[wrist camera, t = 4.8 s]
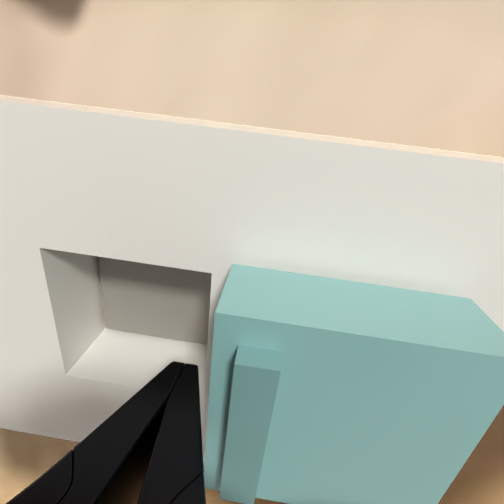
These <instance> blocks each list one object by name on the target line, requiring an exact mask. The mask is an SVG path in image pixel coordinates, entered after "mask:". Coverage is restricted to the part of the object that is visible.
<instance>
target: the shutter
mask: <svg viewBox="0 0 504 504" xmlns="http://www.w3.org/2000/svg"><path fill="white" fill-rule="evenodd" d="M503 405H504V332H503V331H502V330H501V329H500V328H499V327H498V326H497V325H496V324H495V323H494V322H493V321H492V320H491V319H490V318H489V317H488V315H487V314H486V313H485V312H484V311H483V310H482V309H481V308H480V307H479V306H478V305H477V304H476V303H475V302H474V301H473V300H472V299H471V298H464V297H457V296H450V295H443V294H437V293H430V292H423V291H416V290H409V289H402V288H396V287H389V286H382V285H375V284H368V283H361V282H355V281H348V280H341V279H334V278H327V277H320V276H314V275H307V274H300V273H293V272H286V271H279V270H273V269H266V268H259V267H252V266H245V265H238V264H232V266H231V269H230V272H229V275H228V277H227V280H226V283H225V286H224V289H223V291H222V294H221V297H220V300H219V302H218V305H217V308H216V311H215V318H214V333H213V347H212V361H211V376H210V390H209V404H208V418H207V433H206V447H205V461H204V484H205V488H206V489H211V490H216V491H220V496H219V499H221V500H227V501H232V502H237V503H243V504H254V502H255V498H260V499H266V500H271V501H276V502H282V503H287V504H438V503H439V501H440V500H441V498H442V497H443V495H444V494H445V492H446V491H447V489H448V488H449V486H450V485H451V483H452V482H453V480H454V479H455V477H456V476H457V474H458V473H459V471H460V470H461V468H462V467H463V465H464V464H465V462H466V461H467V459H468V458H469V456H470V455H471V453H472V452H473V450H474V449H475V447H476V446H477V444H478V443H479V441H480V440H481V438H482V437H483V435H484V434H485V432H486V431H487V429H488V428H489V426H490V425H491V423H492V422H493V420H494V419H495V417H496V416H497V414H498V413H499V411H500V410H501V408H502V407H503Z"/></svg>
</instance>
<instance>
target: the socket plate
mask: <svg viewBox="0 0 504 504" xmlns="http://www.w3.org/2000/svg"><path fill="white" fill-rule="evenodd" d="M98 261H99V262H98ZM232 264H238V265H245V266H252V267H259V268H266V269H273V270H279V271H286V272H293V273H300V274H307V275H314V276H320V277H327V278H334V279H341V280H348V281H355V282H361V283H368V284H375V285H382V286H389V287H396V288H402V289H409V290H416V291H423V292H430V293H437V294H443V295H450V296H457V297H464V298H471V299H472V300H473V301H474V302H475V303H476V304H477V305H478V306H479V307H480V308H481V309H482V310H483V311H484V312H485V313H486V314H487V315H488V317H489V318H490V319H491V320H492V321H493V322H494V323H495V324H496V325H497V326H498V327H499V328H500V329H501V330H502V331H503V332H504V157H501V156H492V155H484V154H476V153H468V152H460V151H452V150H444V149H436V148H428V147H420V146H412V145H404V144H395V143H387V142H379V141H371V140H363V139H355V138H347V137H339V136H331V135H323V134H315V133H307V132H298V131H290V130H282V129H274V128H266V127H258V126H250V125H242V124H234V123H226V122H218V121H210V120H201V119H193V118H185V117H177V116H169V115H161V114H153V113H145V112H137V111H129V110H121V109H113V108H105V107H96V106H88V105H80V104H72V103H64V102H56V101H48V100H40V99H32V98H24V97H16V96H8V95H0V428H2V429H8V430H13V431H19V432H24V433H30V434H35V435H41V436H47V437H52V438H58V439H63V440H69V441H74V442H81V441H82V440H83V439H85V438H86V437H87V436H88V435H89V434H90V433H91V432H92V431H94V430H95V429H96V428H97V427H98V426H99V425H100V424H102V423H103V422H104V421H105V420H106V419H107V418H108V417H110V416H111V415H112V414H113V413H114V412H115V411H116V410H117V409H119V408H120V407H121V406H122V405H123V404H124V403H125V402H127V401H128V400H129V399H130V398H131V397H132V396H133V395H135V394H136V393H137V392H138V391H139V390H140V389H141V388H143V387H144V386H145V385H146V384H147V383H148V382H149V381H150V380H152V379H153V378H154V377H155V376H156V375H157V374H158V373H160V372H161V371H162V370H163V369H164V368H165V367H166V366H168V365H169V364H170V363H171V362H173V361H177V362H183V363H185V364H186V363H189V364H195V365H198V371H199V391H200V410H201V429H202V449H203V465H204V461H205V447H206V433H207V418H208V404H209V390H210V376H211V361H212V347H213V333H214V318H215V311H216V308H217V305H218V302H219V300H220V297H221V294H222V291H223V289H224V286H225V283H226V280H227V277H228V275H229V272H230V269H231V266H232ZM99 270H100V271H99ZM100 278H101V279H100ZM101 286H102V288H101ZM102 295H103V296H102ZM103 303H104V305H103ZM104 312H105V313H104ZM105 320H106V321H105Z"/></svg>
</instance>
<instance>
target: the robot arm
mask: <svg viewBox="0 0 504 504" xmlns="http://www.w3.org/2000/svg"><path fill="white" fill-rule="evenodd" d="M203 474H204V468H203V449H202V429H201V410H200V391H199V371H198V365H195V364H189V363H186V364H185V363H183V362H177V361H173V362H171V363H170V364H169V365H168V366H166V367H165V368H164V369H163V370H162V371H161V372H160V373H158V374H157V375H156V376H155V377H154V378H153V379H152V380H150V381H149V382H148V383H147V384H146V385H145V386H144V387H143V388H141V389H140V390H139V391H138V392H137V393H136V394H135V395H133V396H132V397H131V398H130V399H129V400H128V401H127V402H125V403H124V404H123V405H122V406H121V407H120V408H119V409H117V410H116V411H115V412H114V413H113V414H112V415H111V416H110V417H108V418H107V419H106V420H105V421H104V422H103V423H102V424H100V425H99V426H98V427H97V428H96V429H95V430H94V431H92V432H91V433H90V434H89V435H88V436H87V437H86V438H85V439H83V440H82V441H81V442H80V443H79V444H78V445H77V446H75V447H74V451H73V450H71V451H70V452H68V453H67V454H66V455H65V456H64V457H63V458H62V459H60V460H59V461H58V462H57V463H56V464H55V465H53V466H52V467H51V468H50V469H49V470H48V471H46V472H45V473H44V474H43V475H42V476H40V477H39V478H38V479H37V480H36V481H34V482H33V483H32V484H31V485H29V486H28V487H27V488H25V489H24V490H23V491H22V492H20V493H19V494H18V495H16V496H15V497H14V498H13V499H11V500H10V501H9V502H7V503H6V504H206V499H205V484H204V475H203Z"/></svg>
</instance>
